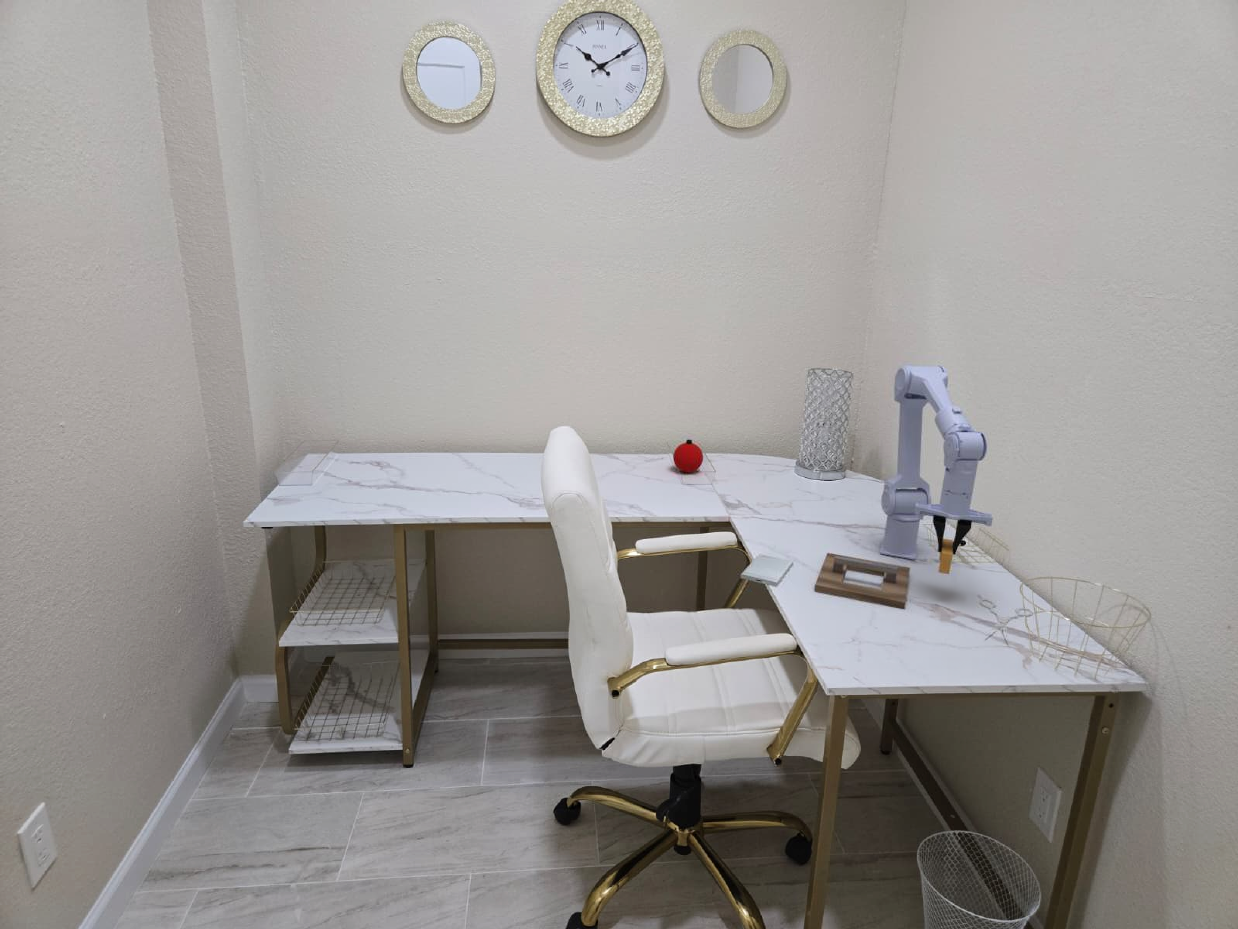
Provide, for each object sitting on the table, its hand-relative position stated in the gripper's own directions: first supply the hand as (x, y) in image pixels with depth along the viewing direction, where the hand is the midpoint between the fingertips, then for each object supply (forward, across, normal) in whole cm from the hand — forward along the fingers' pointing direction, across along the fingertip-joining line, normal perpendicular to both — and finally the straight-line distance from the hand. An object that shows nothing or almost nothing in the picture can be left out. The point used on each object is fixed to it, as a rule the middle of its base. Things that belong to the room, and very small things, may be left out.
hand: (946, 551), depth 164 cm
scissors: (+10, +12, -7) cm, 17 cm away
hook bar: (+8, -15, -1) cm, 18 cm away
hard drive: (+11, -36, -5) cm, 37 cm away
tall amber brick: (+3, 0, 0) cm, 3 cm away
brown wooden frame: (+10, -15, -1) cm, 18 cm away
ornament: (+10, -72, +54) cm, 91 cm away
